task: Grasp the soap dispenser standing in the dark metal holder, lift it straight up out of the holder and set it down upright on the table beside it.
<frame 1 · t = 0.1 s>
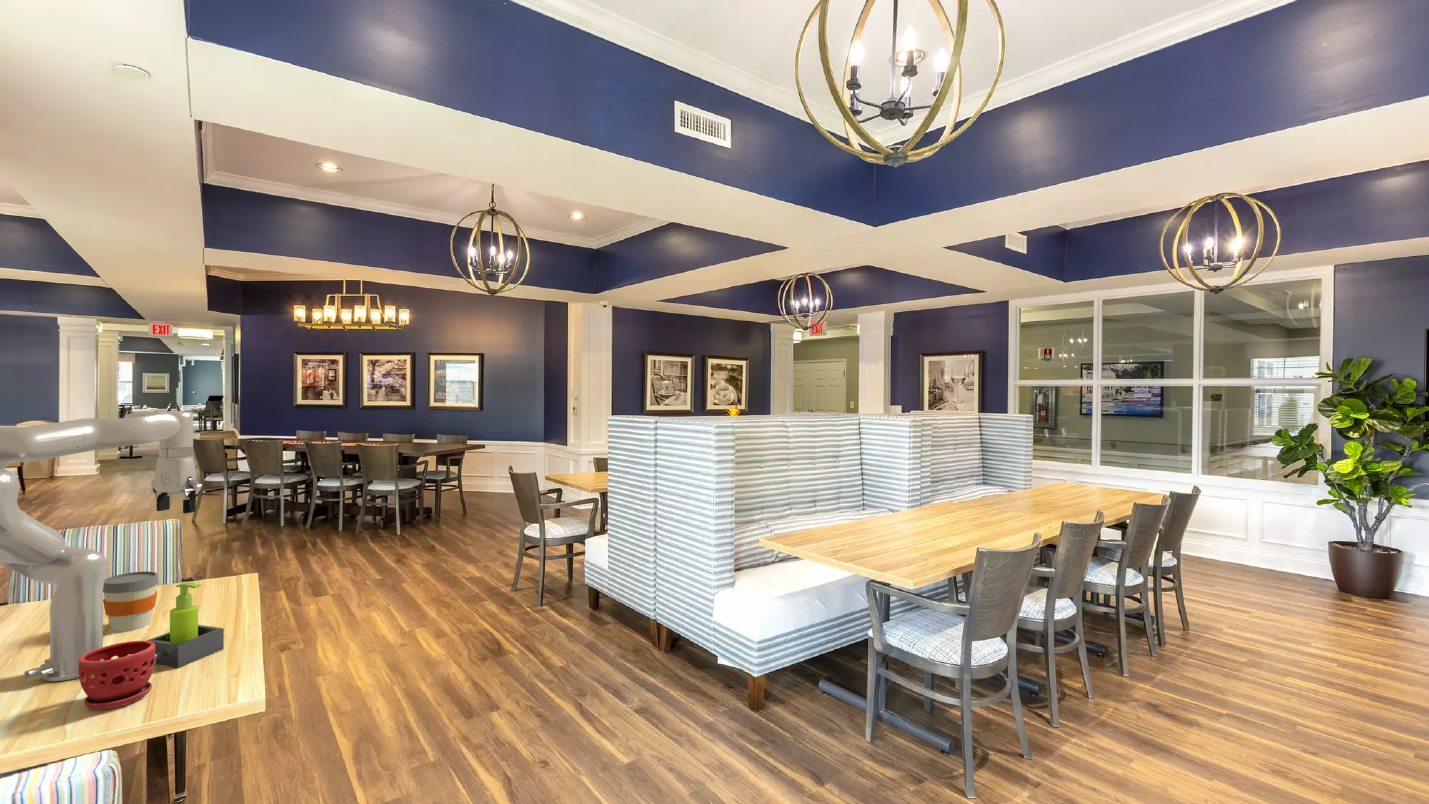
hand: (176, 511, 183), 37 cm above the table, tool pointing down, fingers open, 9 cm apart
soap dispenser: (185, 656, 171), resting in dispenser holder
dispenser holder: (185, 656, 171), on the table
reusable coffee cup: (130, 626, 189), on the table
plant pot: (118, 700, 147), on the table
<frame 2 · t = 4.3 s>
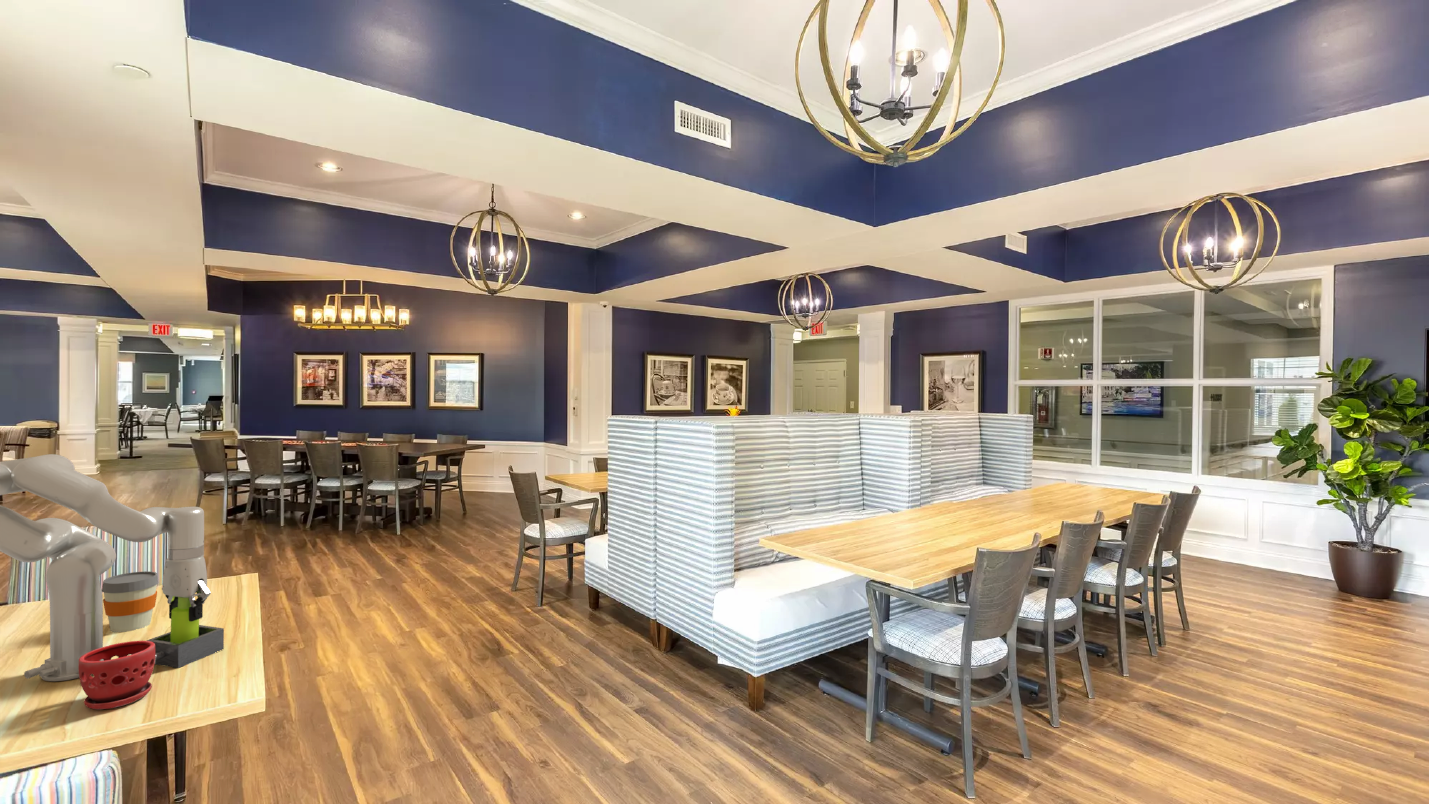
hand: (185, 617, 170), 11 cm above the table, tool pointing down, fingers closed on soap dispenser, 6 cm apart
soap dispenser: (185, 656, 171), resting in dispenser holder, touching gripper
everything else where it was.
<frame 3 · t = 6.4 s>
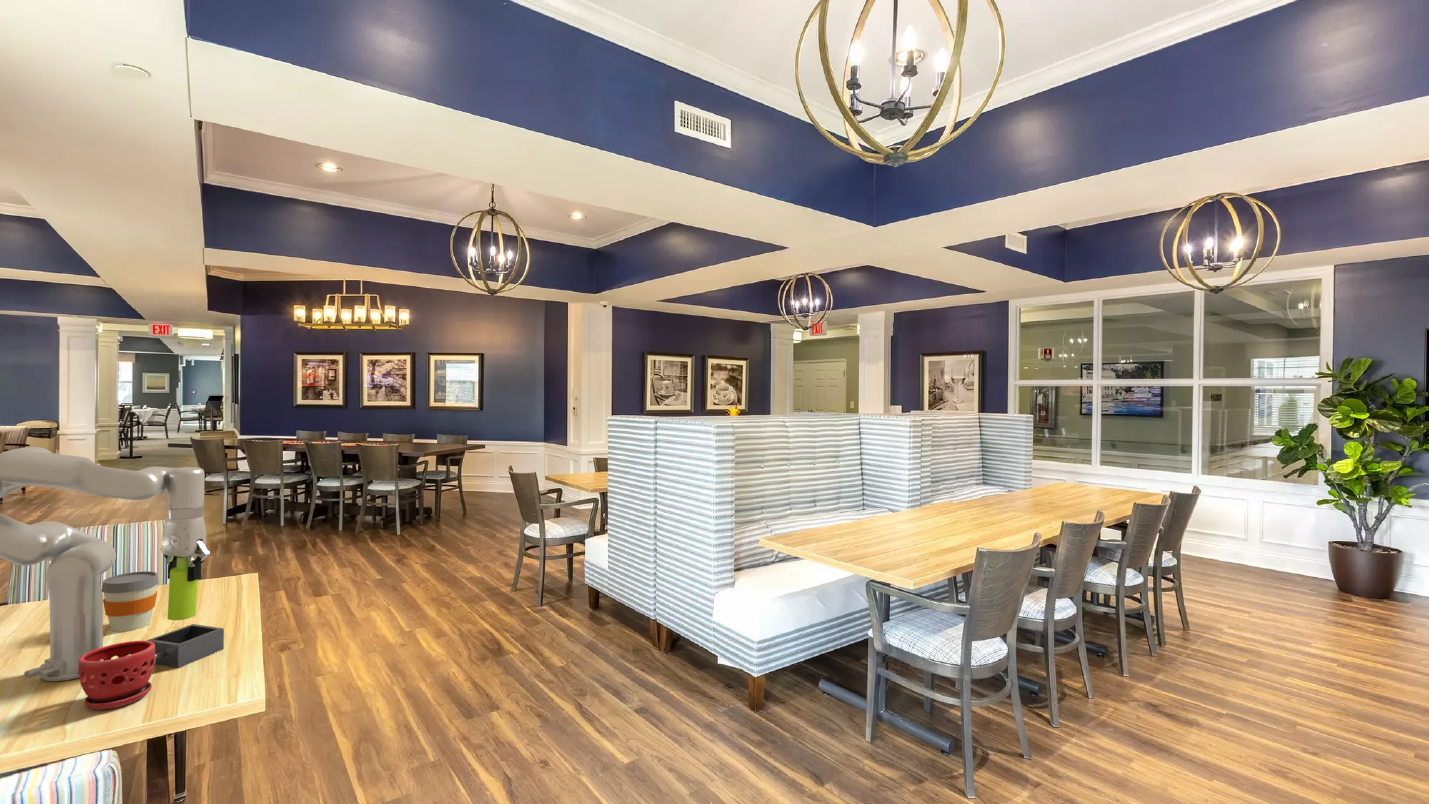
hand: (184, 578, 170), 22 cm above the table, tool pointing down, fingers closed on soap dispenser, 6 cm apart
soap dispenser: (183, 617, 170), point 11 cm above the table, touching gripper
everything else where it was.
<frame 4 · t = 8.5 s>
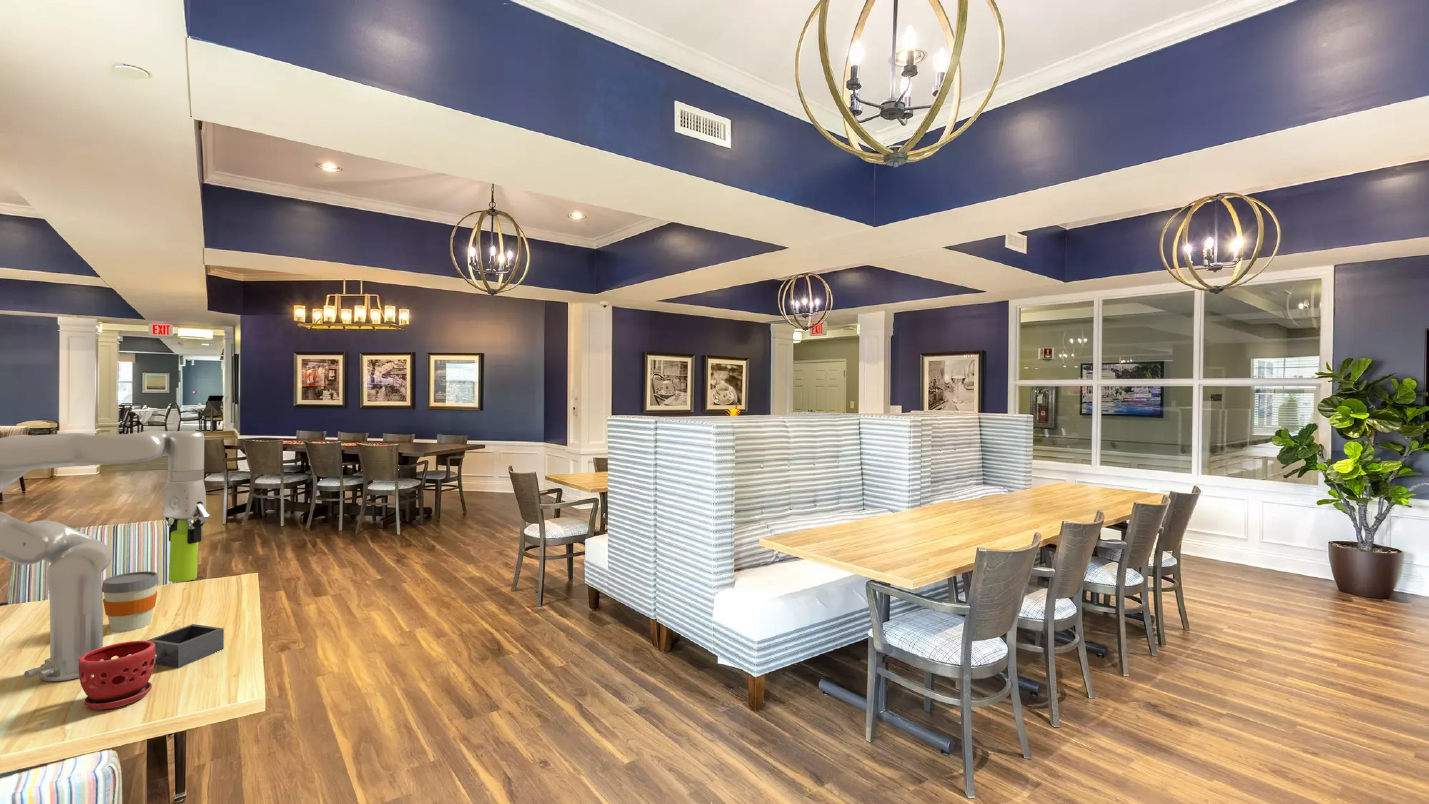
hand: (185, 540, 171), 31 cm above the table, tool pointing down, fingers closed on soap dispenser, 6 cm apart
soap dispenser: (184, 579, 171), point 21 cm above the table, touching gripper
everything else where it was.
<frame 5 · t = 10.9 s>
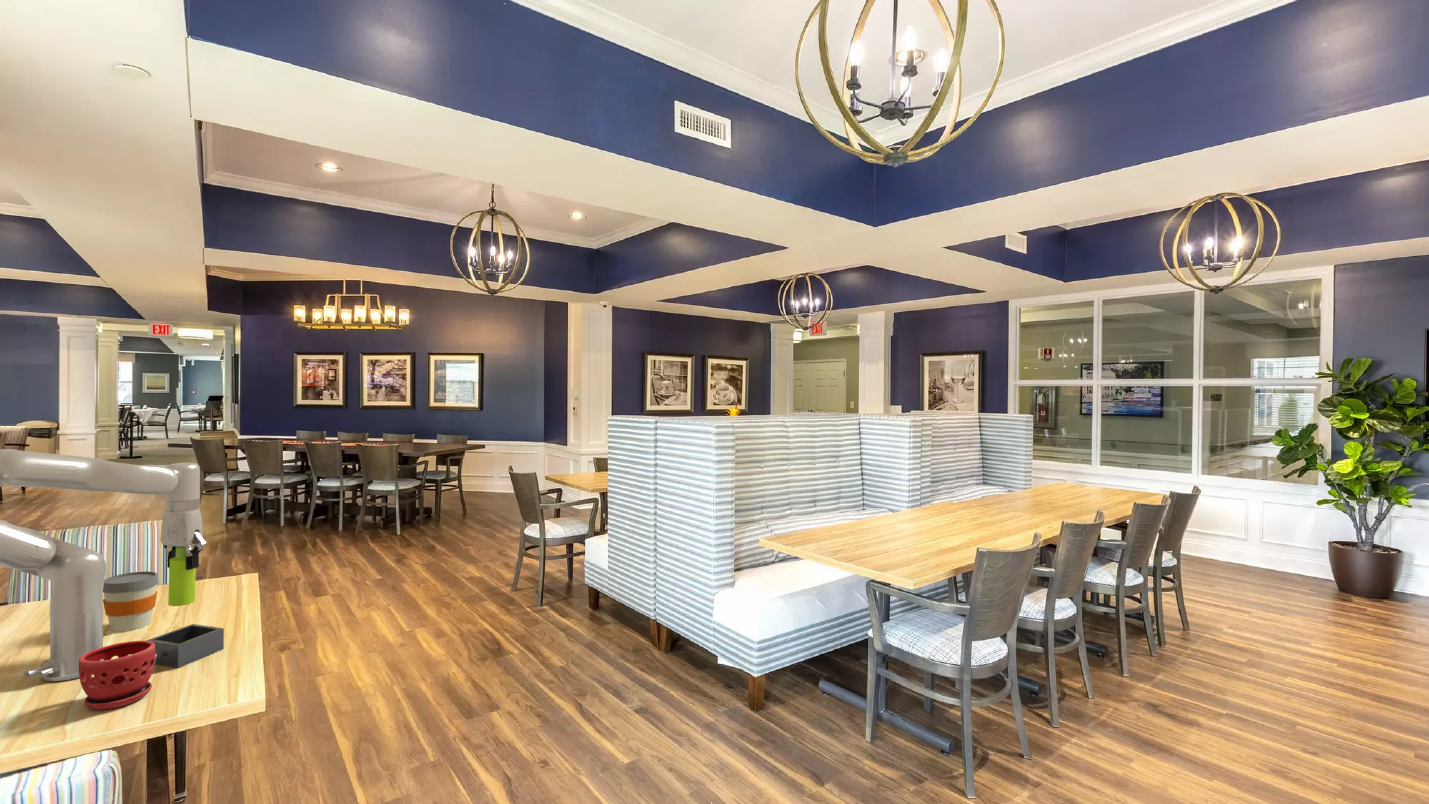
hand: (183, 566, 181), 21 cm above the table, tool pointing down, fingers closed on soap dispenser, 6 cm apart
soap dispenser: (183, 603, 181), point 11 cm above the table, touching gripper
everything else where it was.
when the fingers open (12 cm above the table, at t = 13.1 s): soap dispenser drops 2 cm, on the table.
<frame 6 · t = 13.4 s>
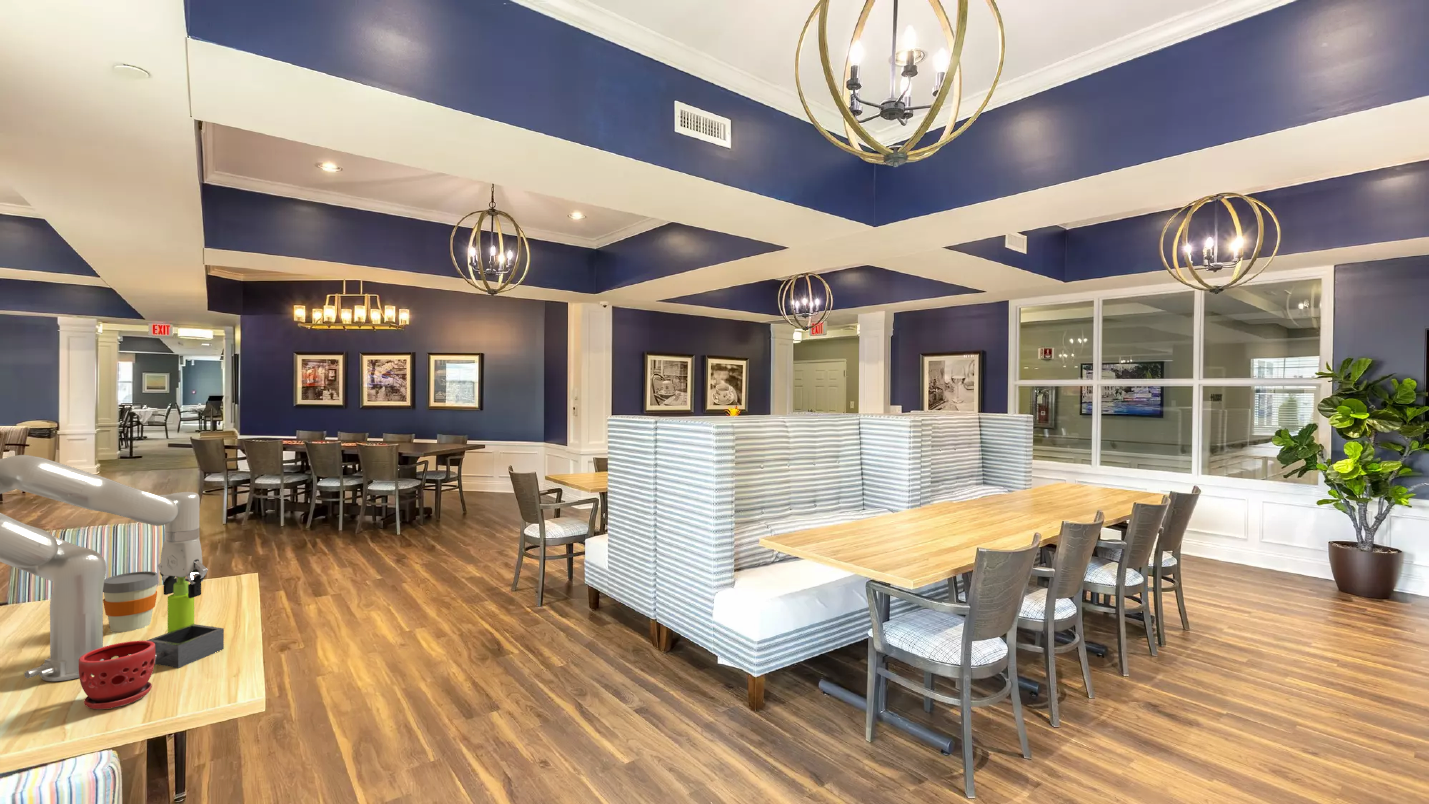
hand: (182, 594, 181), 13 cm above the table, tool pointing down, fingers open, 8 cm apart
soap dispenser: (182, 640, 181), on the table
everything else where it was.
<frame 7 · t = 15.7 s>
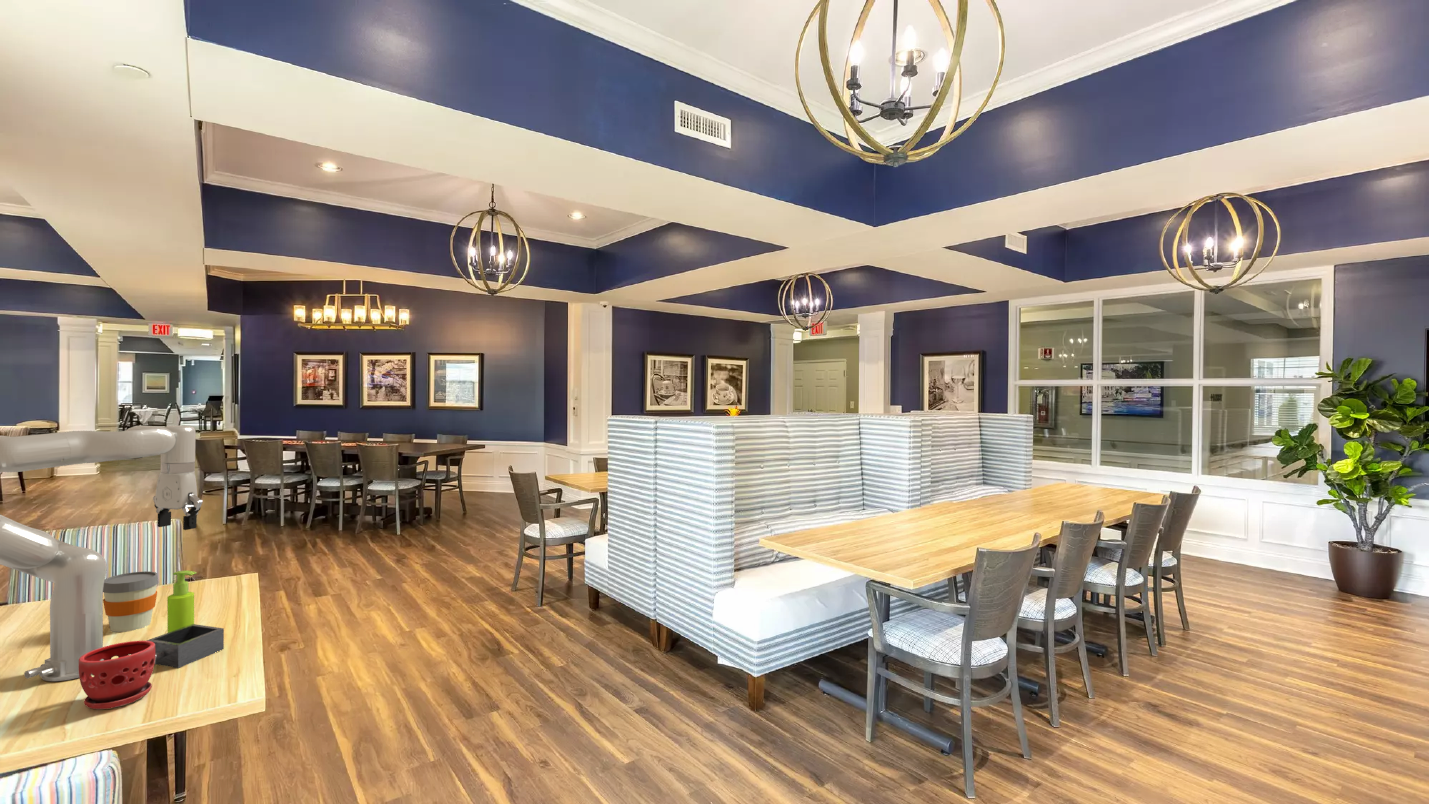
hand: (176, 527, 180), 33 cm above the table, tool pointing down, fingers open, 9 cm apart
nothing on the table moved.
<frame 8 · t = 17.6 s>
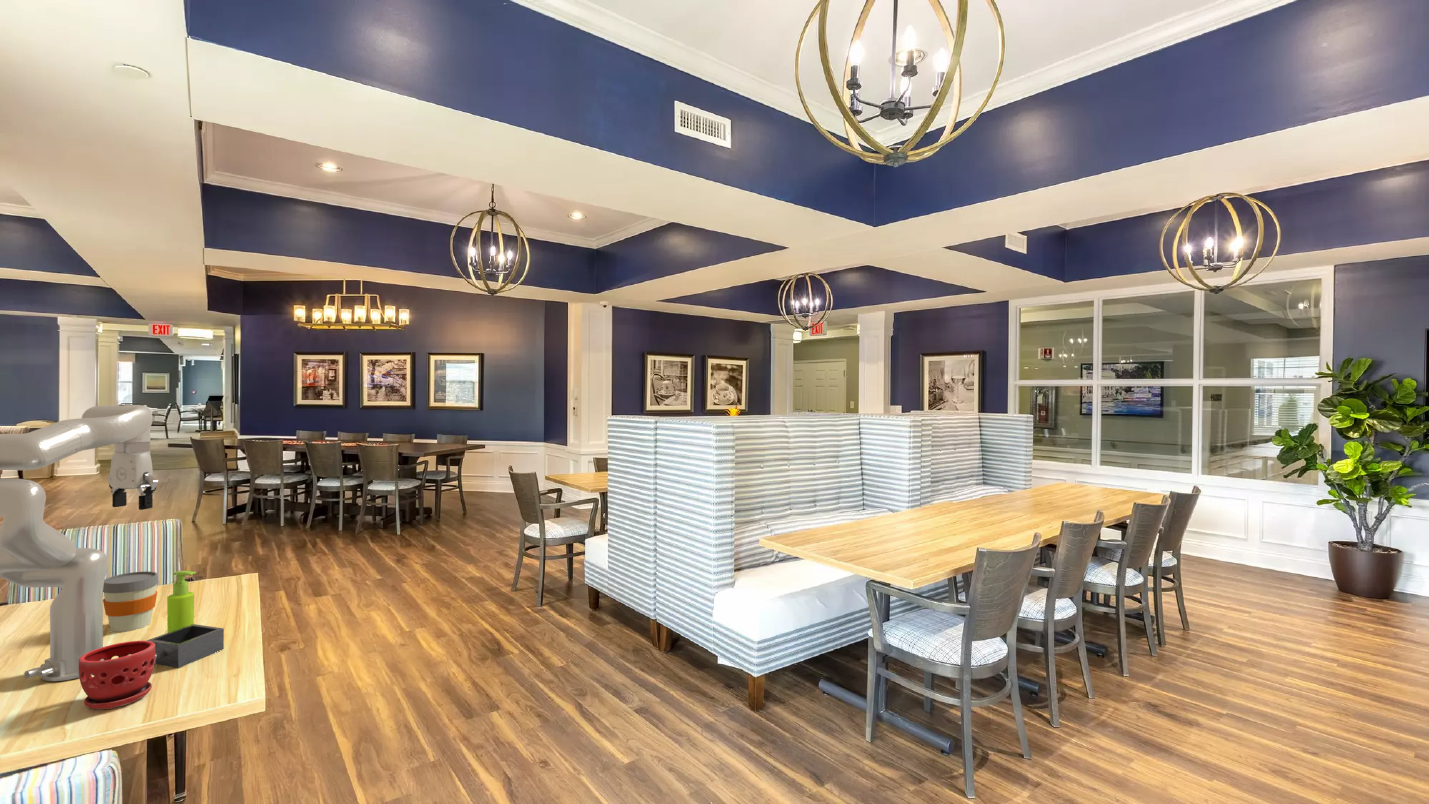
hand: (132, 507, 179), 38 cm above the table, tool pointing down, fingers open, 9 cm apart
nothing on the table moved.
at the end: soap dispenser inside the target area (0.4 cm from its centre), on the table; soap dispenser tilted 0°; the gripper is holding nothing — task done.
